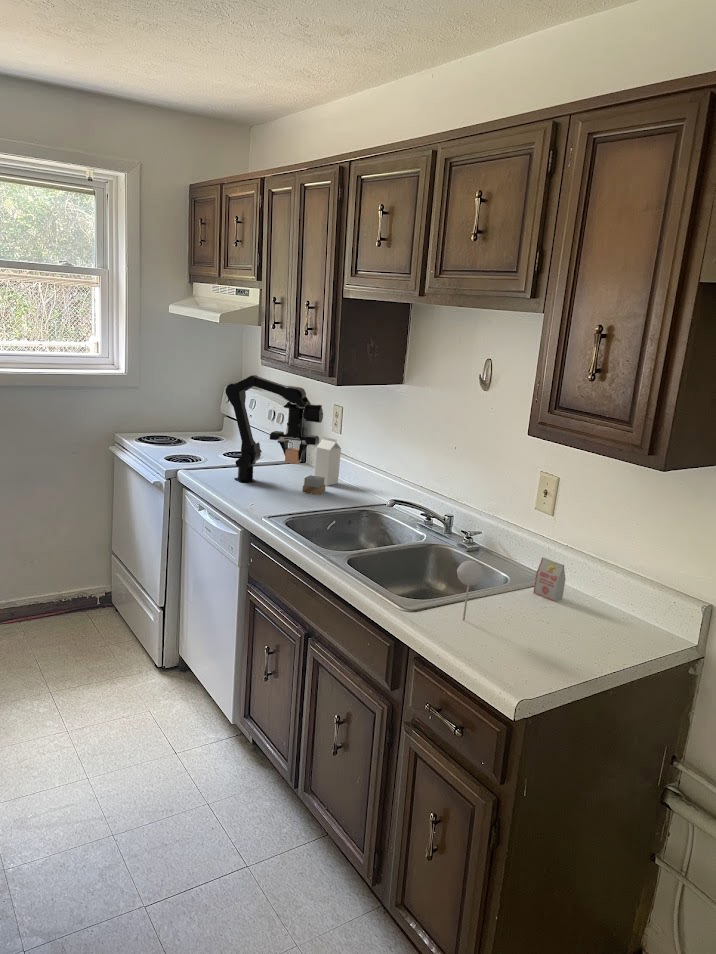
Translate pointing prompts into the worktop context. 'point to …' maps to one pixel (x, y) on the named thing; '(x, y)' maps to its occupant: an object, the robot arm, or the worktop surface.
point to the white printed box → (550, 580)
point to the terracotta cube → (292, 456)
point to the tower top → (314, 481)
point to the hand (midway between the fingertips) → (293, 459)
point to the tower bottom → (314, 489)
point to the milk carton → (328, 461)
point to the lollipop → (469, 576)
